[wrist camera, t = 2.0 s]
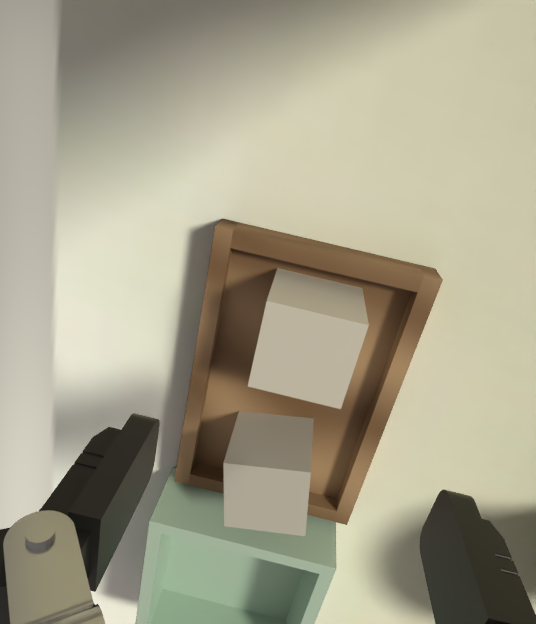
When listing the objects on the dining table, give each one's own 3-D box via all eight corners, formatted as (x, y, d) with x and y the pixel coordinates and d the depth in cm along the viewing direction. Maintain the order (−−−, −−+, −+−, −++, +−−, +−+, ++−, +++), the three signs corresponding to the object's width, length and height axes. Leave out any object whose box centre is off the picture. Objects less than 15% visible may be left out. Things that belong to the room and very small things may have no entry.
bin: (172, 467, 28) (149, 520, 24) (335, 508, 28) (336, 568, 24) (154, 584, 33) (132, 644, 29) (293, 620, 32) (289, 685, 29)
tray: (222, 218, 21) (215, 226, 20) (435, 268, 21) (442, 280, 20) (182, 462, 28) (174, 481, 26) (346, 504, 27) (346, 524, 26)
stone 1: (277, 267, 22) (266, 300, 18) (362, 288, 21) (368, 325, 18) (260, 342, 23) (247, 386, 20) (339, 361, 23) (340, 409, 19)
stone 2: (239, 411, 25) (223, 462, 21) (313, 418, 25) (310, 472, 21) (238, 469, 27) (224, 526, 23) (308, 476, 26) (305, 536, 23)
